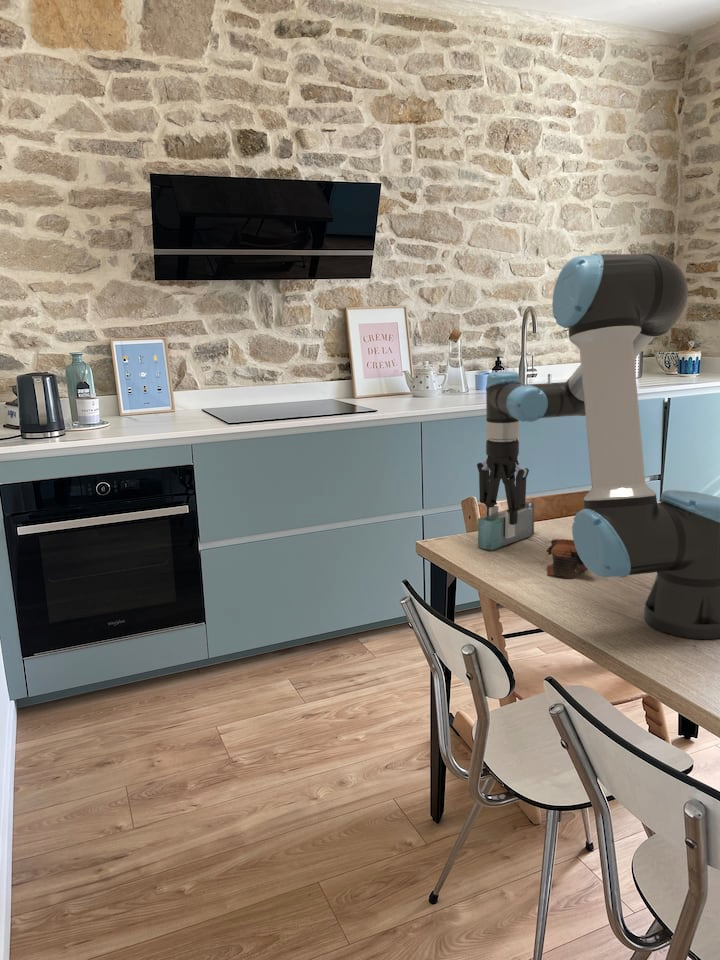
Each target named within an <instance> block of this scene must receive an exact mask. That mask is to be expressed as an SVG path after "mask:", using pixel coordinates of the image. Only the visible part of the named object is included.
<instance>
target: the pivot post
mask: <svg viewBox="0 0 720 960" xmlns="http://www.w3.org/2000/svg"><path fill="white" fill-rule="evenodd" d="M525 507H529V508H533V515H532V536H533V535H534V534H535V502H534V501H525Z"/></svg>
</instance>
